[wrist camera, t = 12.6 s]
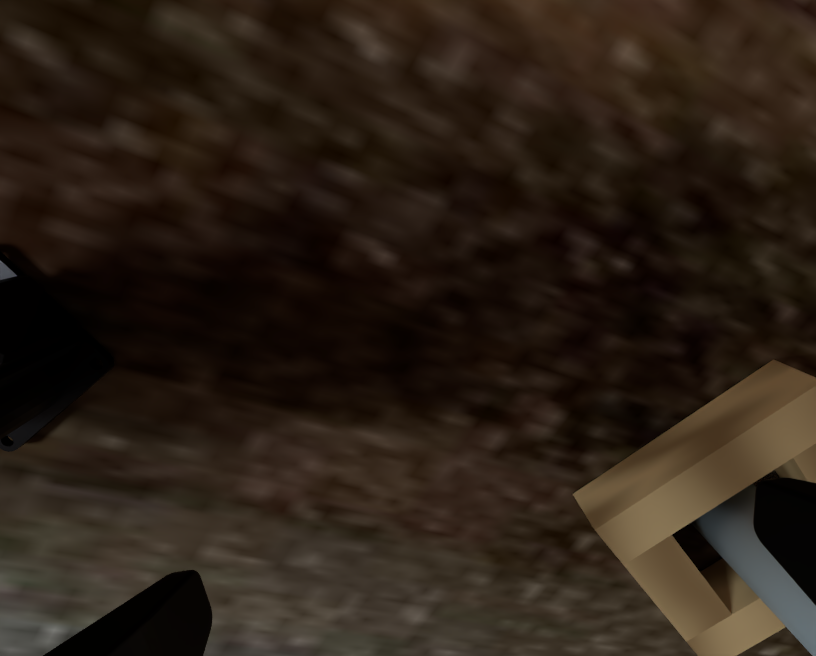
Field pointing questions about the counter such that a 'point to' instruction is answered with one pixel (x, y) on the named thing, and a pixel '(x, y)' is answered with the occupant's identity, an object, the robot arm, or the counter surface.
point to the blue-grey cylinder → (758, 564)
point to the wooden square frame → (706, 502)
